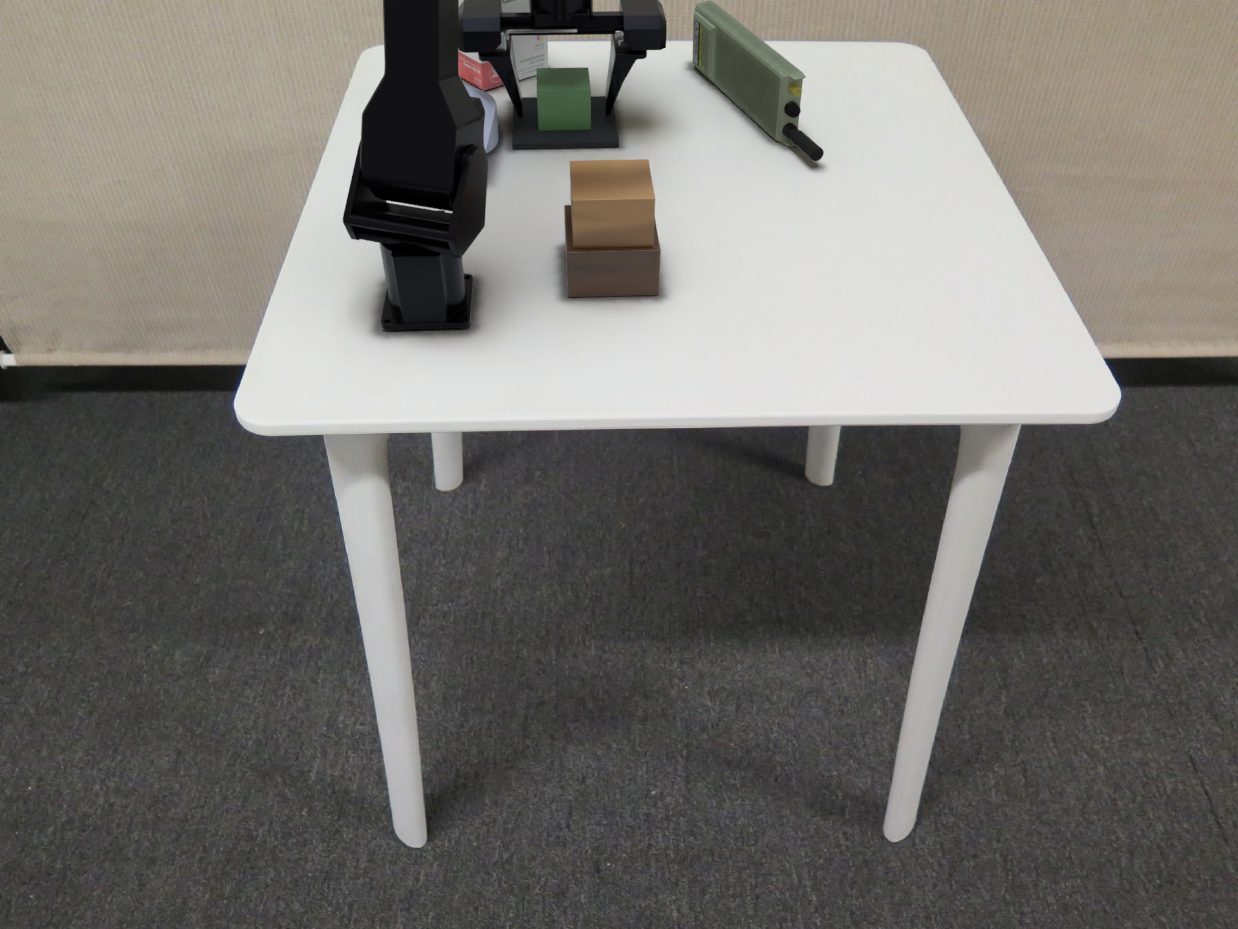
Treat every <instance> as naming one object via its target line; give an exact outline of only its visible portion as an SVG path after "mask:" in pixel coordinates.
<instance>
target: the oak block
mask: <svg viewBox="0 0 1238 929" xmlns="http://www.w3.org/2000/svg"><path fill="white" fill-rule="evenodd" d="M652 178H653V177H652V172H651V167H650V161H649V159H647V158H645V159H639V158H638V159H595V160H594V159H593V160H591V159H590V160H587V159H586V160H569V192H570V193H569V194H570V197H569V198H570V205H571V221H572V239H573V248H613V247H653V244H654V219H655V220H656V215H655V214H656V194H655V190H654V184H653V179H652Z"/></svg>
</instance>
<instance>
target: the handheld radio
mask: <svg viewBox="0 0 1238 929" xmlns="http://www.w3.org/2000/svg"><path fill="white" fill-rule="evenodd" d="M692 22H693V23H692V24H693V25H692V26H693V27H692V30H693V31H692V64H693V66H694V67H695V68H696V69H697V70H698V71H699V72H700V73H701V74H702V75H703V76H705V78H707V79H708V80H709V81H710V82H711V83H712V84H713V85H715V86H716V87H717V88H718V89H719V90H720V91H721V92H722V93H723V94H724V95H726V96H727V97H728V98H729V99H730V100H731V101H732V102H733V103H734V104H735V105H736V106H737V107H738V108H740V110H741V111H743V112H744V113H745V114H746V115H747V116H748V117H749V118H750V119H752V121H754V122H755V123H756V124H757V125H758V126H759V127H760V128H762V130H764V132H766V134H768V135H769V136H771V138H773V140H774V141H776V142H778V143H781V144H782V145H784V146H786V147H787V148H788V147H794V146H796V147H797V148H798V149H799V150H801V151H802V152H803V153H804V154H805V155H806V156H807V157H808V158H809V159H810V160H811V161H813V162H818V161H820V160H822V158H823V157H824V154H825V153H824V149H823V148H822V147H821V146H819V145H818V144H817V143H816V142H815V141H814V140H812V138H810V137H809V136H808V135H807V134H806V133H805V132H804V131H802V130H800V129H799V122H800V121H799V120H800V115H801V112H802V110H801V101H802V92H803V81H804V79H805V78H806V77H807V76H806V75H805V73H804V72H803V71H802V70H800V69H799V68H798V67H796V66H795V65H794V64H793V63H791V62H790V61H789V60H788V59H786V58H785V57H784V55H782V54H780V53H779V52H778V51H776V50H775V49H774V48H773V47H771V45H769V44H767V43H766V42H765V41H764V40H763V39H761V38H760V37H759V36H757V34H755V33H754V32H752V31H751V30H750V29H749V28H747V26H744V25H743V24H742V23H741V22H740V21H739V20H737V19H736V18H735V17H733V16H732V15H731V14H730V13H729V12H727V11H726V10H725V9H724V8H722V7H721V6H720V5H718V4H717V3H716V2H714V1H713V0H706V1H702V2H698V3H696V5H695V8H694V12H693V21H692Z"/></svg>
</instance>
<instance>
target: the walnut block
mask: <svg viewBox="0 0 1238 929" xmlns="http://www.w3.org/2000/svg"><path fill="white" fill-rule="evenodd" d="M563 206H564V207H563V211H564V212H563V214H564V243H565V244H564V246H565V263H566V264H565V268H566V269H565V271H566V289H567V297H568V298H590V297H591V298H592V297H598V298H599V297H632V296H633V297H635V296H658V295H659V294H660V292H659V291H660V273H661V271H660V270H661V246H660V239H659V234H658V228H657V223H656V222H657V221H656V218H655V219H654V244H653V247H613V248H573V239H572V221H571V204H565V205H563Z"/></svg>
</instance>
